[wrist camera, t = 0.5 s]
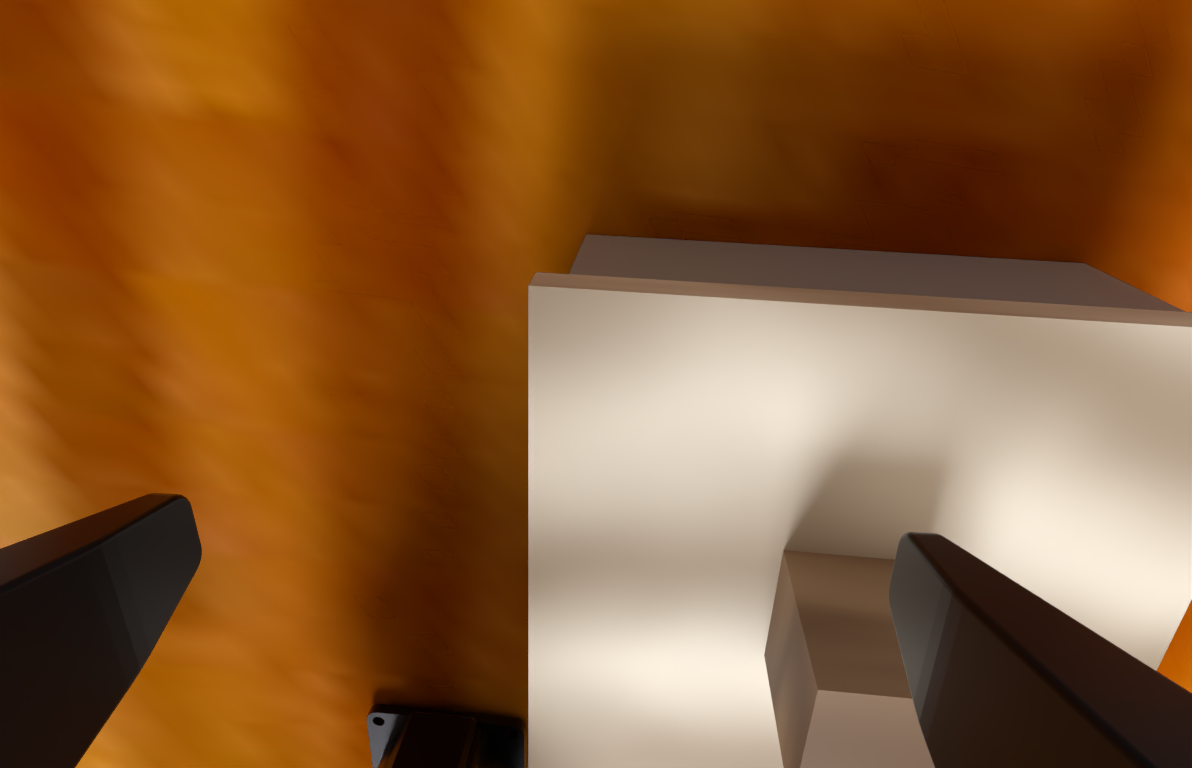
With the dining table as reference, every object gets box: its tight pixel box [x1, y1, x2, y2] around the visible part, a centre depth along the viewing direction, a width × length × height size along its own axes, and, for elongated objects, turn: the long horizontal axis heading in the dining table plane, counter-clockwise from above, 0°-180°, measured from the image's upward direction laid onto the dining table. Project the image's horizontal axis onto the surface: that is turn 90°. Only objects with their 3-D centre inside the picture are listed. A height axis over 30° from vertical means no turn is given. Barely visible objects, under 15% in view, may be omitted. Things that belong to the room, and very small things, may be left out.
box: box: [569, 234, 1185, 312], centre depth 21 cm, size 14×14×6 cm
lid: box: [528, 272, 1192, 768], centre depth 16 cm, size 15×15×6 cm
